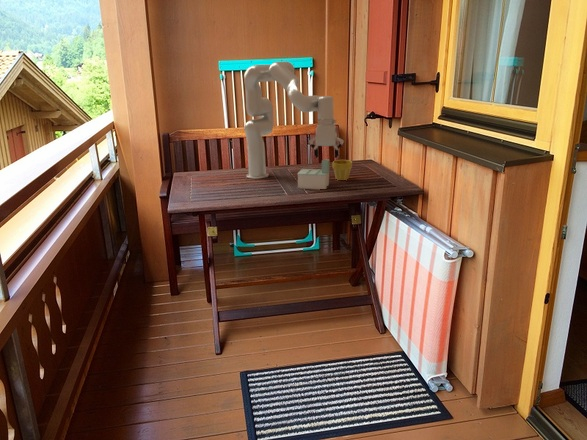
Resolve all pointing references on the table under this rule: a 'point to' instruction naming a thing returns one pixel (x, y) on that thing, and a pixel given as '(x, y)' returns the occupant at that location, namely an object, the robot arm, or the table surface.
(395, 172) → the table surface
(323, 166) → the lid
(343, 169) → the plant pot
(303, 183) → the tub
